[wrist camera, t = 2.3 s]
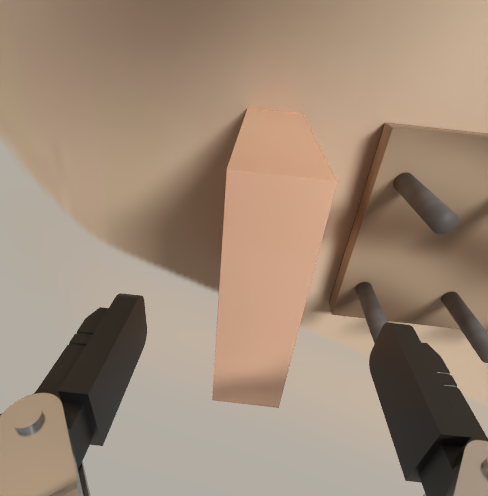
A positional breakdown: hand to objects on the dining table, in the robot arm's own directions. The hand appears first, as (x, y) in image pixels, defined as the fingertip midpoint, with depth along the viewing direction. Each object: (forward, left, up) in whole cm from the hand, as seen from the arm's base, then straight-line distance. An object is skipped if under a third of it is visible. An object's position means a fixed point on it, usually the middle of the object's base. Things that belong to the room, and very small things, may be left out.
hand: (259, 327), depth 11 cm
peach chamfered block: (0, 0, -10) cm, 10 cm away
